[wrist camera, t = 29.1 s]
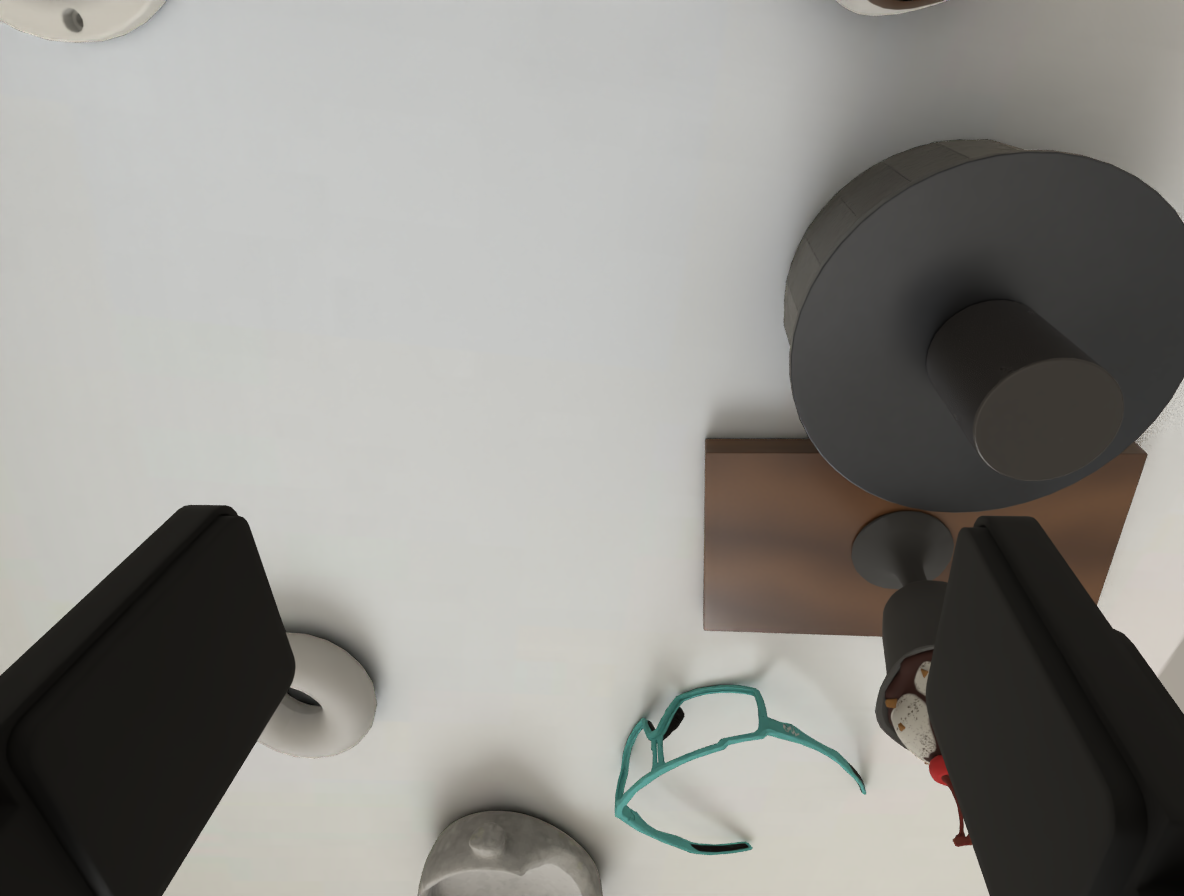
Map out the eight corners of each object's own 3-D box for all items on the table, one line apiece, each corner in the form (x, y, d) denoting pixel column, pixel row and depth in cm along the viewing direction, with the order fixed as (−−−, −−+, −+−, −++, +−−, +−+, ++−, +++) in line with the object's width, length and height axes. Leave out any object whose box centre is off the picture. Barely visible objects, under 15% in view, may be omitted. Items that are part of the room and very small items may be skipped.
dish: (472, 776, 54) (452, 842, 49) (641, 851, 55) (637, 920, 51) (404, 872, 61) (381, 938, 56) (556, 935, 62) (546, 1003, 58)
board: (705, 438, 38) (705, 452, 37) (1131, 438, 35) (1148, 453, 34) (703, 613, 44) (703, 630, 42) (1071, 624, 41) (1084, 644, 40)
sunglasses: (733, 645, 44) (744, 716, 40) (885, 756, 50) (908, 829, 45) (576, 747, 50) (571, 818, 46) (726, 836, 56) (733, 907, 51)
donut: (385, 635, 48) (232, 608, 48) (365, 675, 45) (202, 646, 45) (384, 738, 53) (245, 713, 53) (367, 781, 50) (220, 755, 50)
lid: (799, 157, 26) (829, 193, 20) (1246, 135, 24) (1418, 168, 18) (777, 497, 33) (795, 596, 27) (1125, 500, 31) (1223, 608, 25)
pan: (793, 147, 31) (814, 172, 26) (1134, 130, 29) (1234, 153, 24) (776, 425, 37) (790, 493, 32) (1056, 425, 36) (1121, 497, 30)
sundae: (827, 598, 40) (891, 870, 27) (842, 493, 37) (923, 745, 24) (956, 604, 39) (1085, 887, 26) (983, 497, 36) (1146, 760, 23)
